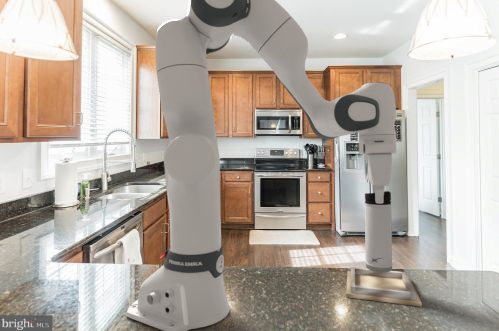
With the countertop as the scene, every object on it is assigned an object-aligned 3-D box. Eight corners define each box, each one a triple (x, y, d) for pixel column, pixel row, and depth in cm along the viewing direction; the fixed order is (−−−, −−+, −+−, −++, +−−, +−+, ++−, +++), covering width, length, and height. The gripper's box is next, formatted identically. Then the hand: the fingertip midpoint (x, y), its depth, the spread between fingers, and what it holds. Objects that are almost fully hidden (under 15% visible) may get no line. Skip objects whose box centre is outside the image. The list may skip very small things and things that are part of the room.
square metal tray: (346, 297, 71) (346, 287, 71) (347, 273, 86) (347, 265, 86) (421, 306, 66) (421, 296, 66) (409, 279, 81) (408, 271, 81)
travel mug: (377, 274, 72) (376, 192, 72) (360, 265, 78) (359, 190, 78) (399, 271, 73) (397, 191, 73) (380, 263, 80) (379, 189, 80)
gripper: (362, 149, 87) (363, 196, 87) (365, 145, 67) (366, 206, 68) (386, 148, 85) (387, 197, 85) (396, 144, 65) (397, 207, 65)
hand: (378, 201), depth 76 cm, fingers closed on travel mug, 6 cm apart
